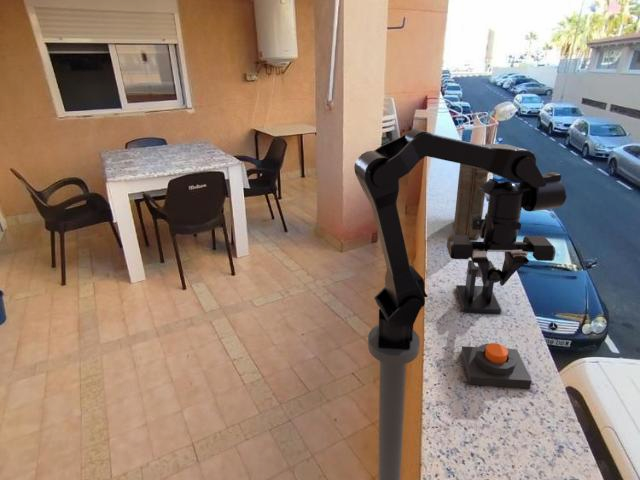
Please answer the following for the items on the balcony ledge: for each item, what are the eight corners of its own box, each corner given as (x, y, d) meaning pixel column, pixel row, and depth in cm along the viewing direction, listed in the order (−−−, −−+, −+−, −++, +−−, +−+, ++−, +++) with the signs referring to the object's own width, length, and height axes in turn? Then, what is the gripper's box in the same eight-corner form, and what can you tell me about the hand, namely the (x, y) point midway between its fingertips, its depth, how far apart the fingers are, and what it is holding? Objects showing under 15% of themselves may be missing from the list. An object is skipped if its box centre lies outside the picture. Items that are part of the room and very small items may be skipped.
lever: (504, 283, 74) (504, 267, 74) (487, 283, 75) (487, 267, 75) (486, 278, 87) (486, 264, 87) (472, 277, 88) (472, 264, 88)
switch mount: (500, 313, 84) (507, 276, 80) (463, 312, 85) (467, 275, 81) (489, 290, 93) (494, 255, 89) (455, 289, 94) (459, 254, 90)
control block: (469, 384, 66) (471, 369, 65) (461, 353, 73) (462, 339, 72) (529, 389, 65) (533, 373, 63) (515, 356, 72) (518, 342, 70)
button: (487, 363, 66) (488, 355, 66) (482, 349, 70) (483, 342, 69) (509, 364, 66) (510, 357, 65) (503, 350, 69) (504, 343, 68)
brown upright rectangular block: (454, 218, 137) (460, 150, 127) (478, 220, 134) (487, 150, 124) (453, 239, 121) (460, 163, 111) (481, 241, 118) (491, 163, 108)
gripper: (540, 199, 76) (527, 266, 83) (445, 200, 79) (440, 264, 86) (564, 219, 66) (547, 294, 73) (454, 219, 69) (447, 291, 76)
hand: (492, 284), depth 77 cm, fingers closed on lever, 3 cm apart
